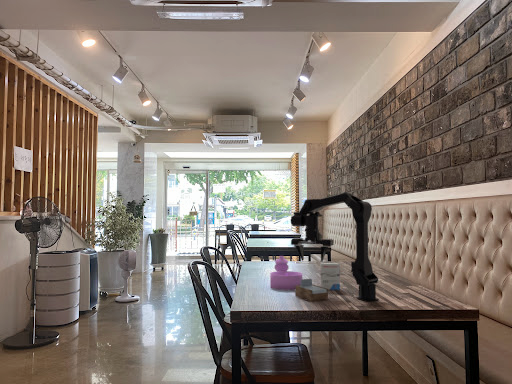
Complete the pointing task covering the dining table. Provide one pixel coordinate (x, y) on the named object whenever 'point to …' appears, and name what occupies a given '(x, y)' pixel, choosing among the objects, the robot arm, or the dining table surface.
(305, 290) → the case
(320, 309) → the dining table surface
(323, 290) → the lid
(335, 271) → the ink box
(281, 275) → the container set
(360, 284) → the robot arm
